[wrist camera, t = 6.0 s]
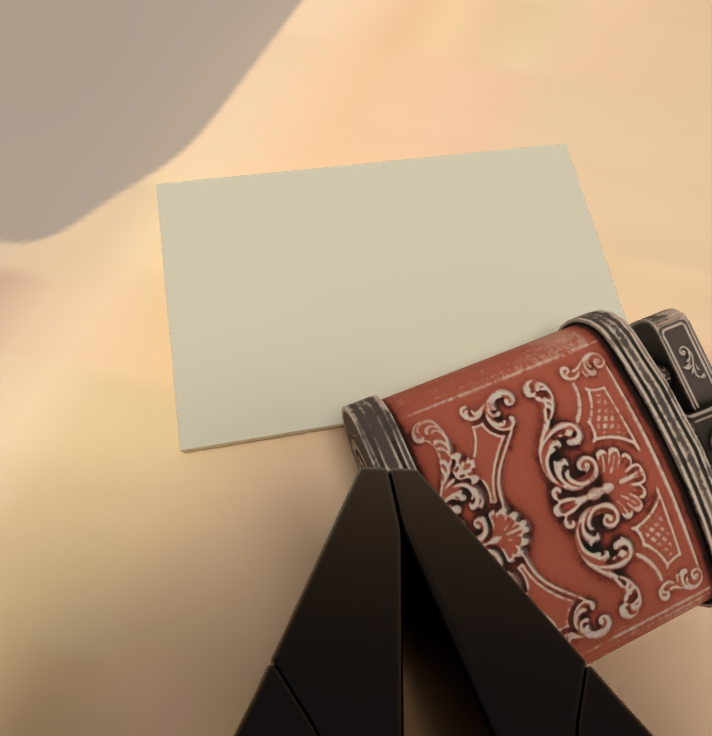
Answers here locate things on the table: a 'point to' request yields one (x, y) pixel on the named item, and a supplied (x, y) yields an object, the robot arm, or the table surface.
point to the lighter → (572, 468)
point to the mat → (365, 282)
